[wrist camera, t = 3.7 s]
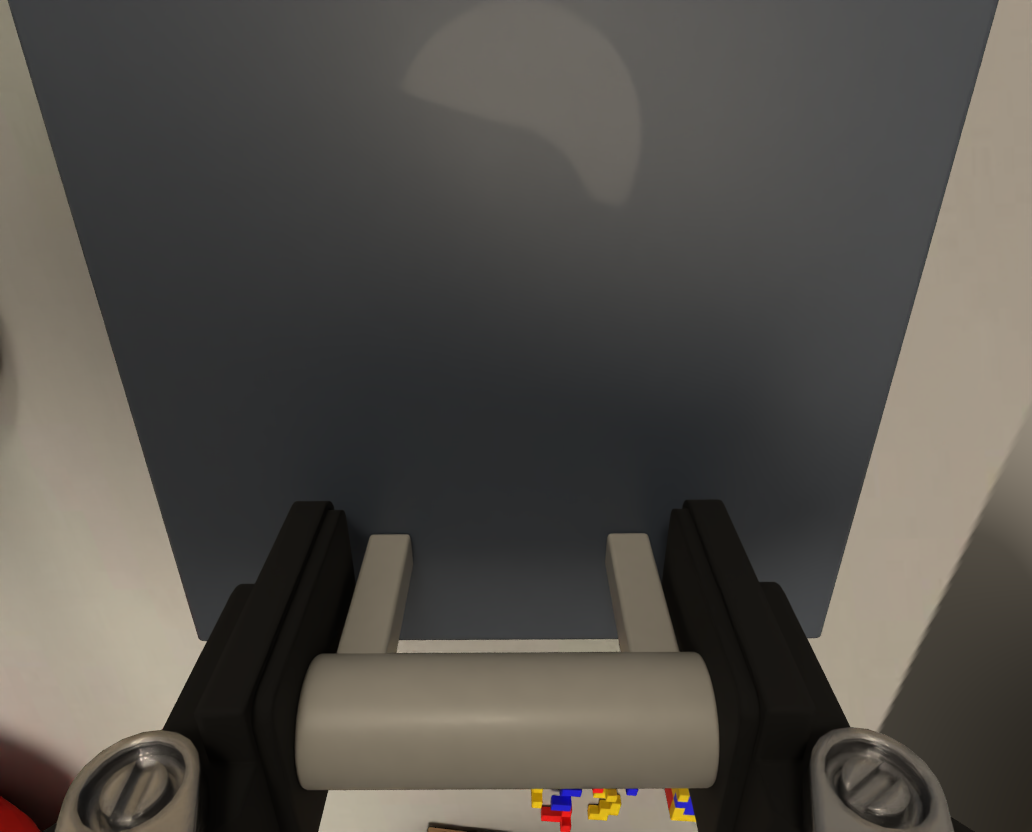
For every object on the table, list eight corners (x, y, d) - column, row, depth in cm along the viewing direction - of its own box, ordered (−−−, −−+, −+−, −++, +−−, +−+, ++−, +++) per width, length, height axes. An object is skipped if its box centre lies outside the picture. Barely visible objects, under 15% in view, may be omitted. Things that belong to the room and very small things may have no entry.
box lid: (805, 609, 14) (944, 879, 9) (214, 612, 14) (72, 883, 9) (1094, -502, 7) (2153, -1487, 2) (-97, -502, 7) (-1218, -1497, 2)
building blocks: (529, 712, 28) (530, 749, 27) (723, 726, 29) (734, 763, 27) (511, 809, 31) (511, 847, 30) (686, 821, 32) (694, 859, 30)
